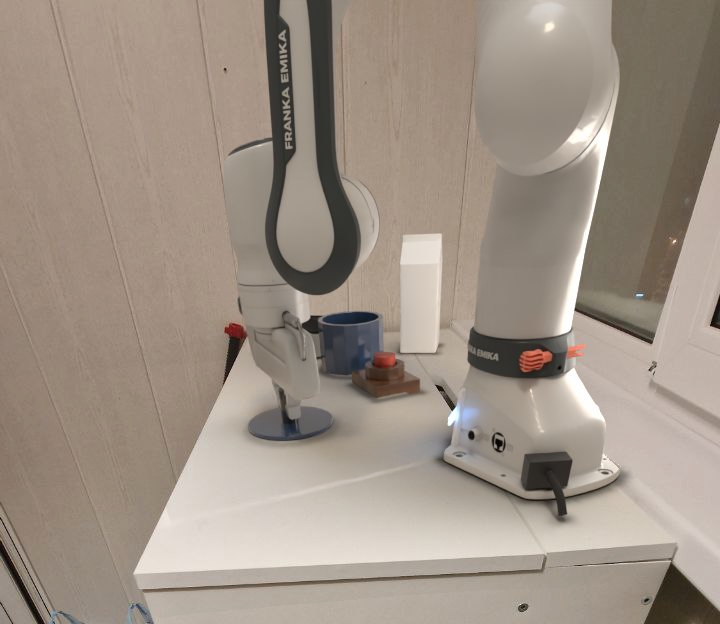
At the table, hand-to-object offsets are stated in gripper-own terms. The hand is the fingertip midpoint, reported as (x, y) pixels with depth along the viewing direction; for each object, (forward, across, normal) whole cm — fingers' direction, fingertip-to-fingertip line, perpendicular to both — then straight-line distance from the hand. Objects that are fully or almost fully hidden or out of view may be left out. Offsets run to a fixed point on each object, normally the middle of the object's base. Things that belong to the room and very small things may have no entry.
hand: (289, 413), depth 82 cm
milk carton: (+2, +28, -37) cm, 46 cm away
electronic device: (+2, +39, -17) cm, 43 cm away
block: (+2, +9, -20) cm, 22 cm away
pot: (+2, +23, -20) cm, 31 cm away
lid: (+2, 0, 0) cm, 2 cm away
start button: (-1, +9, -20) cm, 22 cm away
